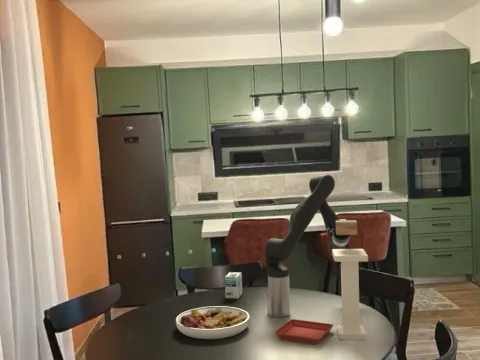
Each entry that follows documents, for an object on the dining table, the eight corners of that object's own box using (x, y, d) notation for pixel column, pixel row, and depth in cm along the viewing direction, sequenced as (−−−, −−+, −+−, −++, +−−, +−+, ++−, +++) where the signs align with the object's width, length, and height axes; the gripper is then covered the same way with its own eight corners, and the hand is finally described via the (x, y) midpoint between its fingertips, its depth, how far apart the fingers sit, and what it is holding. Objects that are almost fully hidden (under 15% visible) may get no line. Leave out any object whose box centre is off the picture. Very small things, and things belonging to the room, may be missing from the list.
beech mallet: (332, 226, 227) (332, 214, 227) (351, 225, 226) (351, 214, 226) (336, 234, 204) (336, 222, 204) (357, 234, 204) (357, 222, 203)
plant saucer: (291, 326, 213) (291, 318, 213) (334, 332, 205) (334, 323, 204) (273, 340, 197) (273, 332, 197) (319, 347, 189) (319, 338, 188)
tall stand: (333, 328, 208) (332, 249, 206) (364, 328, 206) (362, 248, 205) (336, 341, 194) (334, 256, 192) (369, 341, 192) (367, 255, 191)
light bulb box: (238, 298, 254) (237, 277, 253) (225, 298, 255) (224, 276, 255) (242, 292, 264) (242, 272, 264) (229, 292, 266) (229, 271, 265)
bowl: (215, 312, 233) (214, 295, 233) (265, 327, 212) (264, 308, 212) (161, 330, 212) (160, 311, 212) (210, 348, 191) (209, 327, 191)
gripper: (324, 228, 238) (326, 213, 222) (356, 227, 236) (359, 213, 221) (325, 243, 234) (327, 230, 219) (357, 243, 233) (361, 229, 217)
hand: (343, 221), depth 220 cm, fingers closed on beech mallet, 3 cm apart
